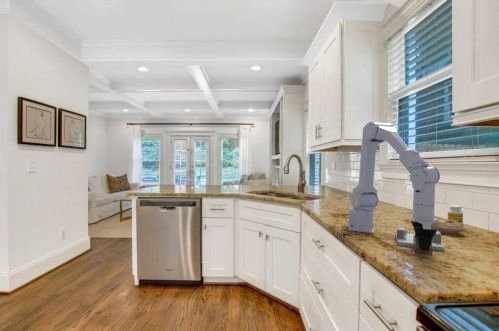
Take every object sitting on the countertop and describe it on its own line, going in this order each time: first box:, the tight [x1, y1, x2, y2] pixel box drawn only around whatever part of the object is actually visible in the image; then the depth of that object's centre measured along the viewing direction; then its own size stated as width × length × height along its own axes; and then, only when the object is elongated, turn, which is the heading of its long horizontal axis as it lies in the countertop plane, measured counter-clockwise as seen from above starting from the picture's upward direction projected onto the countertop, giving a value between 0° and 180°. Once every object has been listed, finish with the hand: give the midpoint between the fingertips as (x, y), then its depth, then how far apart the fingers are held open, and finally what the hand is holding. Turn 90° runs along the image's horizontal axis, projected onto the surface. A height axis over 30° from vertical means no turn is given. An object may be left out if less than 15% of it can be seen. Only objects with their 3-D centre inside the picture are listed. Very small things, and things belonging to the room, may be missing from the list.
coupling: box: [412, 235, 433, 256], centre depth 88 cm, size 5×5×4 cm
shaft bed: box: [395, 226, 445, 252], centre depth 97 cm, size 13×14×4 cm
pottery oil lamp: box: [431, 219, 466, 235], centre depth 111 cm, size 9×12×7 cm
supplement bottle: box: [447, 204, 464, 224], centre depth 120 cm, size 5×5×10 cm
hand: (422, 246), depth 88 cm, fingers open, 7 cm apart
